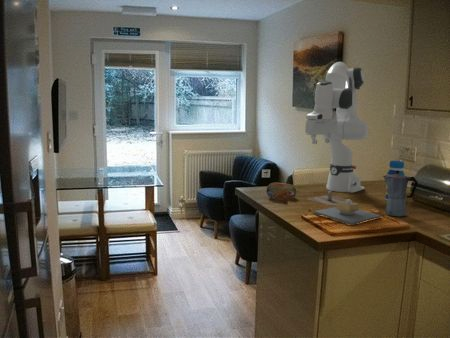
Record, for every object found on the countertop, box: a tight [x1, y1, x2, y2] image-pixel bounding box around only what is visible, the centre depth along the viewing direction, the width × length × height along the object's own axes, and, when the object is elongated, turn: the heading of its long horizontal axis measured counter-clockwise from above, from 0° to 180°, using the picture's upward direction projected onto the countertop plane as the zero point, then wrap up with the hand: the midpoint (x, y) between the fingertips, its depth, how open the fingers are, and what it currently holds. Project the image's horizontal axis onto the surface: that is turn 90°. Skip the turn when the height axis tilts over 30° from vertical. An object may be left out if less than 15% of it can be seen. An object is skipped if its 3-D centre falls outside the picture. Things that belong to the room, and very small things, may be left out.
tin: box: [266, 181, 297, 202], centre depth 219 cm, size 15×3×8 cm, turn 62°
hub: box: [313, 198, 382, 226], centre depth 191 cm, size 20×20×8 cm
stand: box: [307, 190, 354, 207], centre depth 214 cm, size 16×16×6 cm
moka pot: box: [382, 170, 419, 217], centre depth 195 cm, size 10×15×20 cm, turn 51°
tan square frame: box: [336, 201, 360, 213], centre depth 191 cm, size 7×7×3 cm
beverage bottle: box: [384, 160, 406, 201], centre depth 223 cm, size 8×8×20 cm
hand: (321, 143), depth 218 cm, fingers open, 8 cm apart
